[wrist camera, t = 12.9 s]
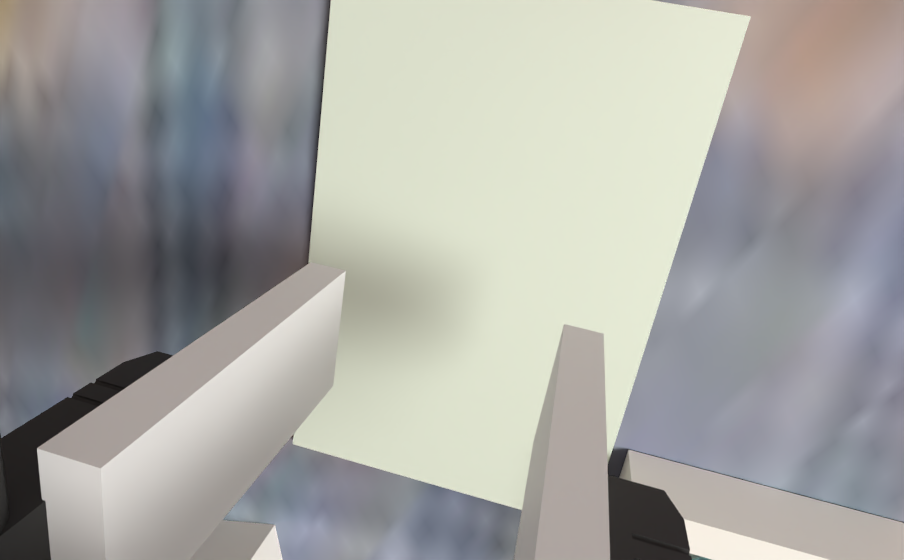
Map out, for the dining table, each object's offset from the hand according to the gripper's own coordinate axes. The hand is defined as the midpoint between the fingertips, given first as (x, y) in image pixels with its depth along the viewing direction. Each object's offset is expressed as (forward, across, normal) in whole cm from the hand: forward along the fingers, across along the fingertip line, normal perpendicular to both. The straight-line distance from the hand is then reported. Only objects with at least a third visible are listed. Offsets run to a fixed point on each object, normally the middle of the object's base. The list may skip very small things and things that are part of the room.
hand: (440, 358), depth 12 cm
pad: (+5, 0, 0) cm, 5 cm away
